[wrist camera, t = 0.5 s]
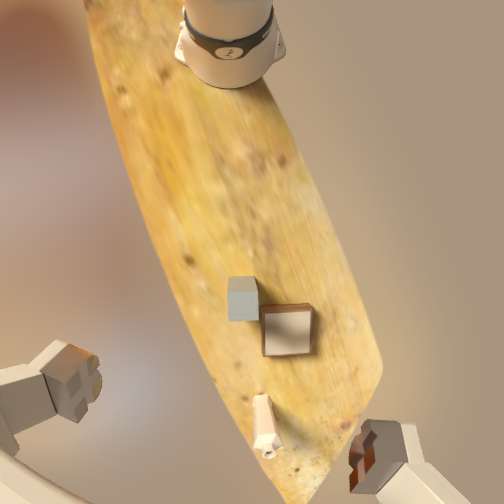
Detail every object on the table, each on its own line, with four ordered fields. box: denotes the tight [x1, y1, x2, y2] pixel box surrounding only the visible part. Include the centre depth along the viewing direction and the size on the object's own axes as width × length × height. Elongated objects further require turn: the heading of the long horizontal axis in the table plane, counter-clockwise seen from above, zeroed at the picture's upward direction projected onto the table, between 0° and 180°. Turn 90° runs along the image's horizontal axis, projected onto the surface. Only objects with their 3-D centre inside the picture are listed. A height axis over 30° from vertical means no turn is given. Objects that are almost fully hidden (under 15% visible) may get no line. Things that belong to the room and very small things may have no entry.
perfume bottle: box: [252, 394, 283, 459], centre depth 49 cm, size 5×4×15 cm
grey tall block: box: [227, 276, 259, 321], centre depth 48 cm, size 4×4×10 cm
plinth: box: [261, 303, 313, 357], centre depth 52 cm, size 8×8×3 cm
